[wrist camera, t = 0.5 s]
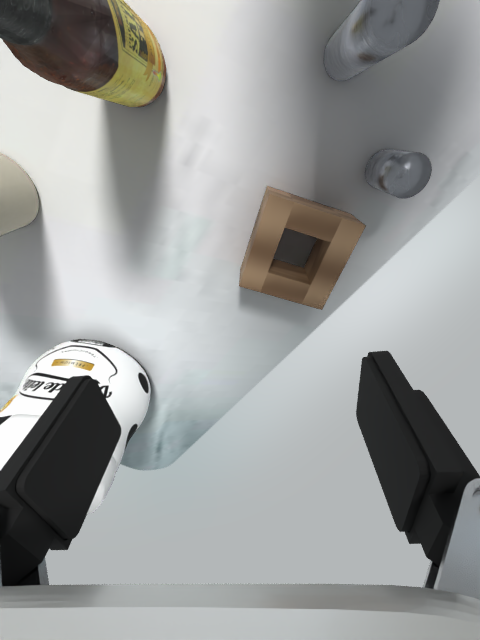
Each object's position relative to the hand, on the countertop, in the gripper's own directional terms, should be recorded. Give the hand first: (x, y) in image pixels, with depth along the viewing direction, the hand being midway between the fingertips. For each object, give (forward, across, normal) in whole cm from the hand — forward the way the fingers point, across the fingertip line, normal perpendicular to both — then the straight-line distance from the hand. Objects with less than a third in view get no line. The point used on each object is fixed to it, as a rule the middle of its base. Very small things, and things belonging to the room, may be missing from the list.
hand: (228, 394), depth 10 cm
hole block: (+27, -5, +4) cm, 28 cm away
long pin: (+27, -10, -12) cm, 32 cm away
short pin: (+27, -15, -3) cm, 31 cm away
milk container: (+27, +26, +22) cm, 43 cm away
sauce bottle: (+28, +8, -14) cm, 32 cm away
